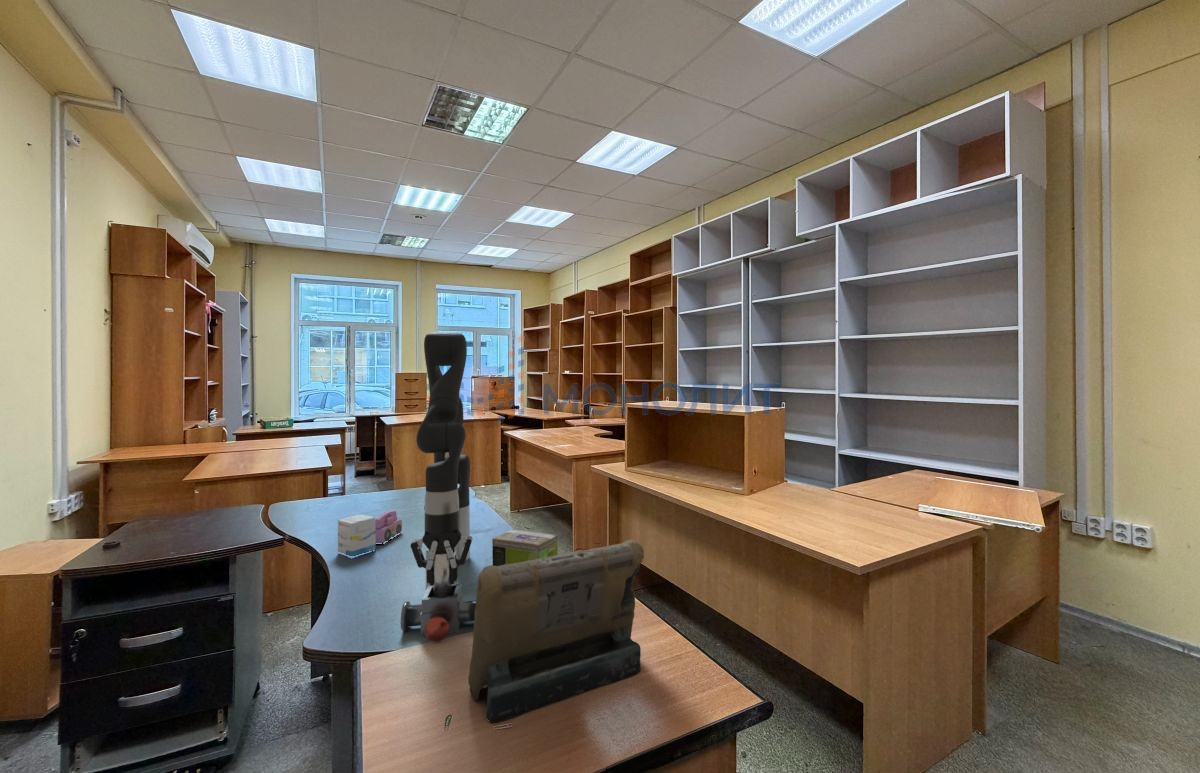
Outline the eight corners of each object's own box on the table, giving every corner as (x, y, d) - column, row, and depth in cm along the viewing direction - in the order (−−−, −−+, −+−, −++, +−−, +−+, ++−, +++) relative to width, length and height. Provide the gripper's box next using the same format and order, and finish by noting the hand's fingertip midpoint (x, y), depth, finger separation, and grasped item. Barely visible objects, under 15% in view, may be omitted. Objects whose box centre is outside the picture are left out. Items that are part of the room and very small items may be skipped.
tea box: (559, 588, 129) (558, 533, 129) (539, 603, 120) (539, 545, 120) (513, 579, 135) (513, 527, 135) (491, 593, 126) (490, 537, 126)
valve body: (408, 620, 111) (408, 586, 111) (481, 614, 114) (481, 581, 114) (395, 647, 100) (395, 609, 100) (477, 640, 102) (476, 603, 102)
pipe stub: (435, 592, 110) (434, 549, 110) (452, 591, 111) (452, 548, 111) (431, 599, 106) (431, 555, 106) (450, 598, 107) (450, 554, 107)
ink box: (376, 551, 158) (376, 517, 158) (351, 559, 151) (351, 523, 151) (361, 547, 163) (361, 513, 163) (337, 554, 156) (336, 519, 156)
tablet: (611, 638, 103) (611, 523, 103) (652, 669, 91) (651, 540, 91) (463, 692, 85) (462, 553, 85) (490, 740, 74) (489, 579, 74)
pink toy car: (384, 546, 163) (383, 517, 163) (366, 546, 164) (366, 517, 164) (408, 531, 181) (408, 505, 181) (392, 530, 181) (392, 504, 181)
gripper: (475, 503, 113) (475, 575, 113) (413, 506, 111) (413, 579, 111) (472, 511, 106) (472, 588, 106) (405, 514, 104) (405, 593, 104)
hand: (442, 583), depth 109 cm, fingers closed on pipe stub, 4 cm apart
